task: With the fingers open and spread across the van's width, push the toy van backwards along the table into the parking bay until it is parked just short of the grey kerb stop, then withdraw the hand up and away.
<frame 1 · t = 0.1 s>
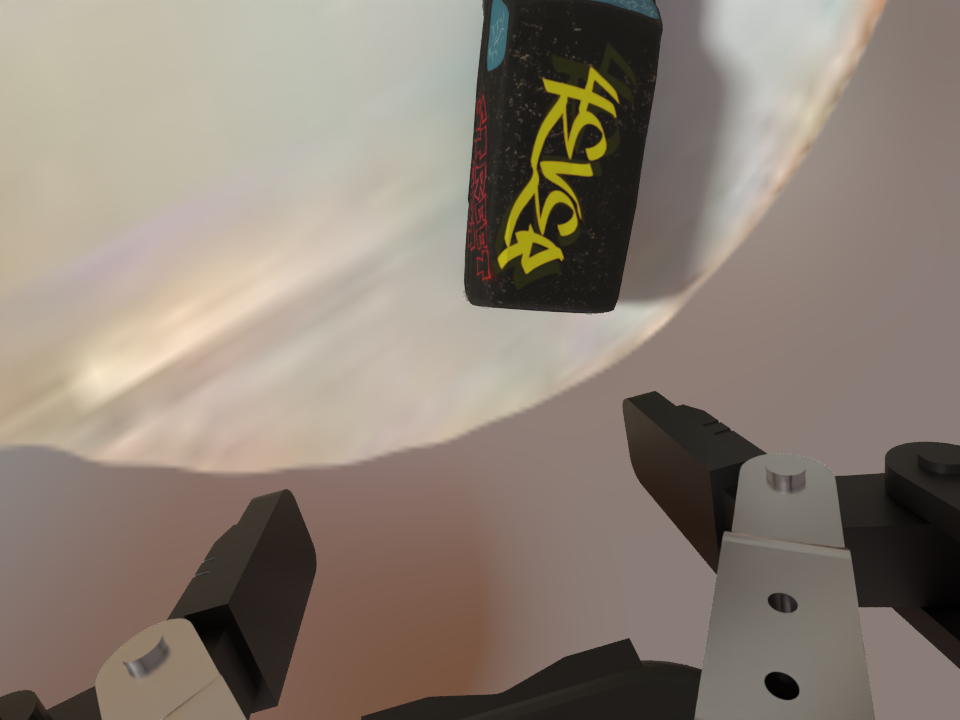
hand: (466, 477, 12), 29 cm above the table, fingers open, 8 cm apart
toy van: (538, 139, 38), on the table
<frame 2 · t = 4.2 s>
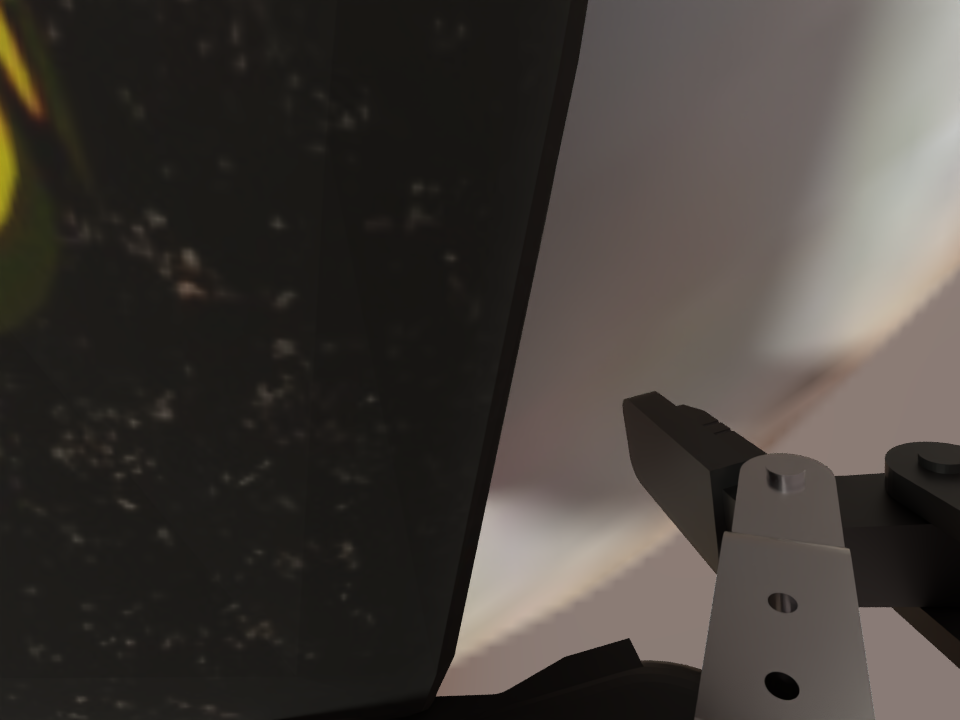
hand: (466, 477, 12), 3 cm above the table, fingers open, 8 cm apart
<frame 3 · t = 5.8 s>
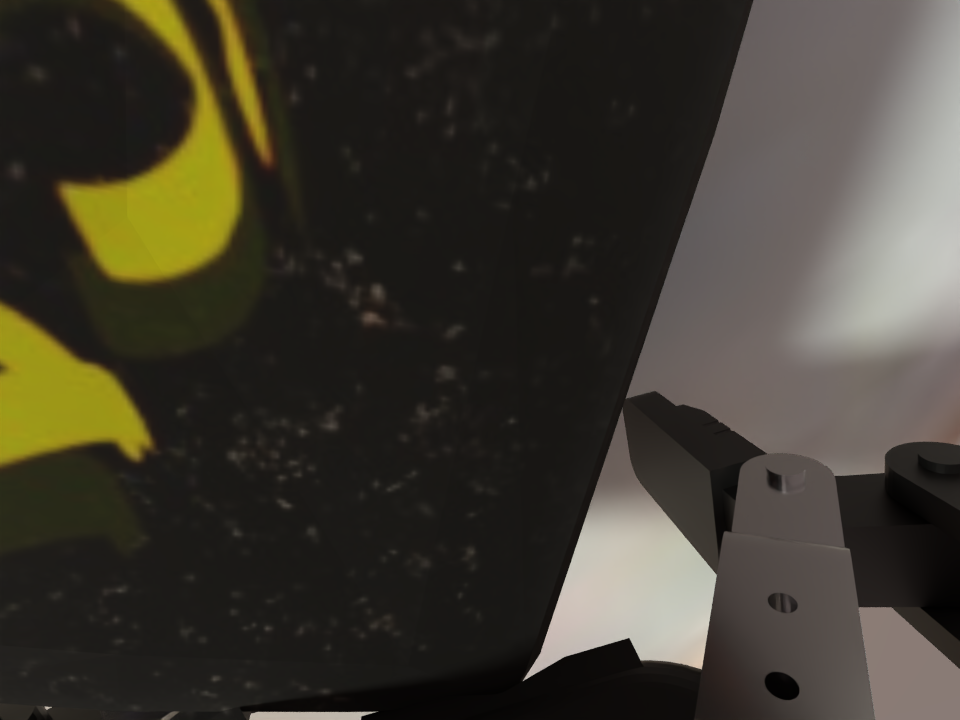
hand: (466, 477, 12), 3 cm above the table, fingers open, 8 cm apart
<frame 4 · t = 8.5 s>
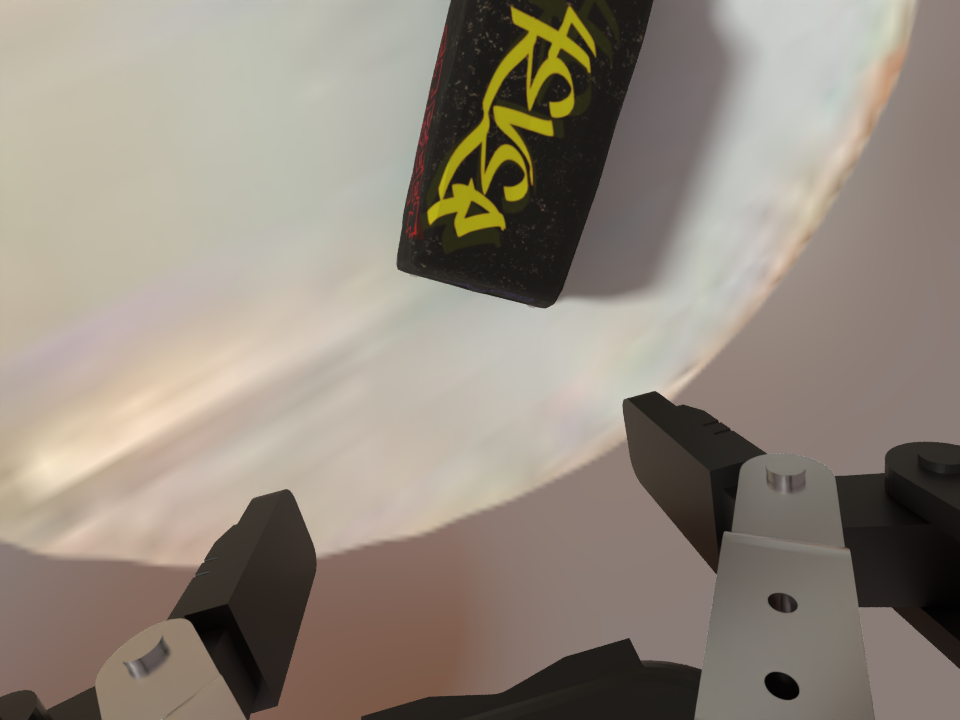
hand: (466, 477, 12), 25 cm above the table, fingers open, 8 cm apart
toy van: (511, 107, 33), on the table
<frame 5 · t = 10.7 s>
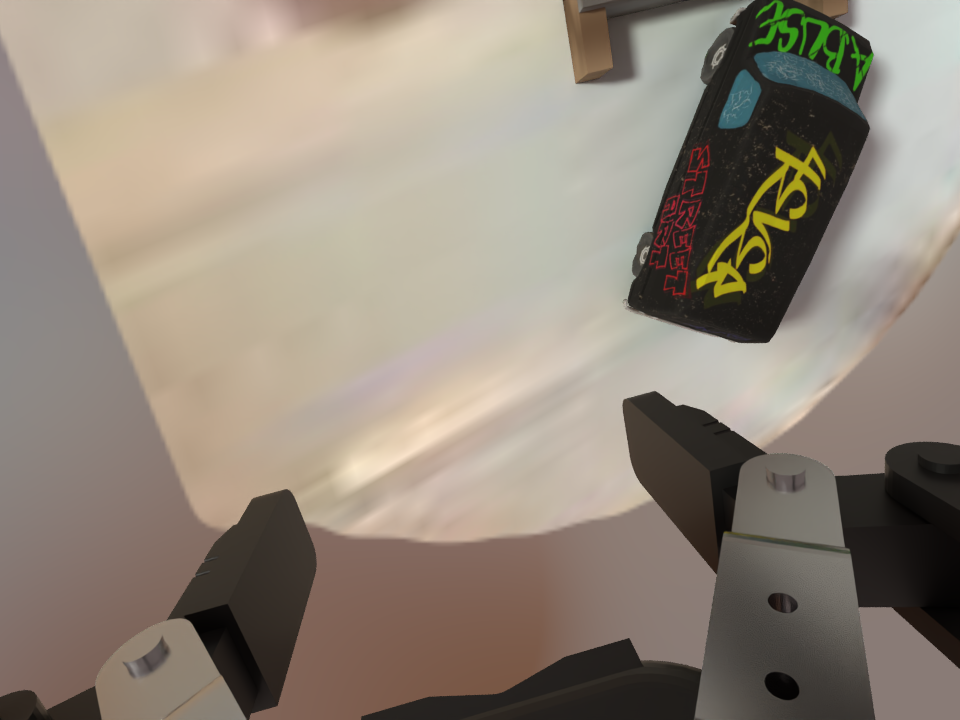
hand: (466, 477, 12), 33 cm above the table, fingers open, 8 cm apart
toy van: (711, 188, 44), on the table
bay: (694, 13, 40), on the table
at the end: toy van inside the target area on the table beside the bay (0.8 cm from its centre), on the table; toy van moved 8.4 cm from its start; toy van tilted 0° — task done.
